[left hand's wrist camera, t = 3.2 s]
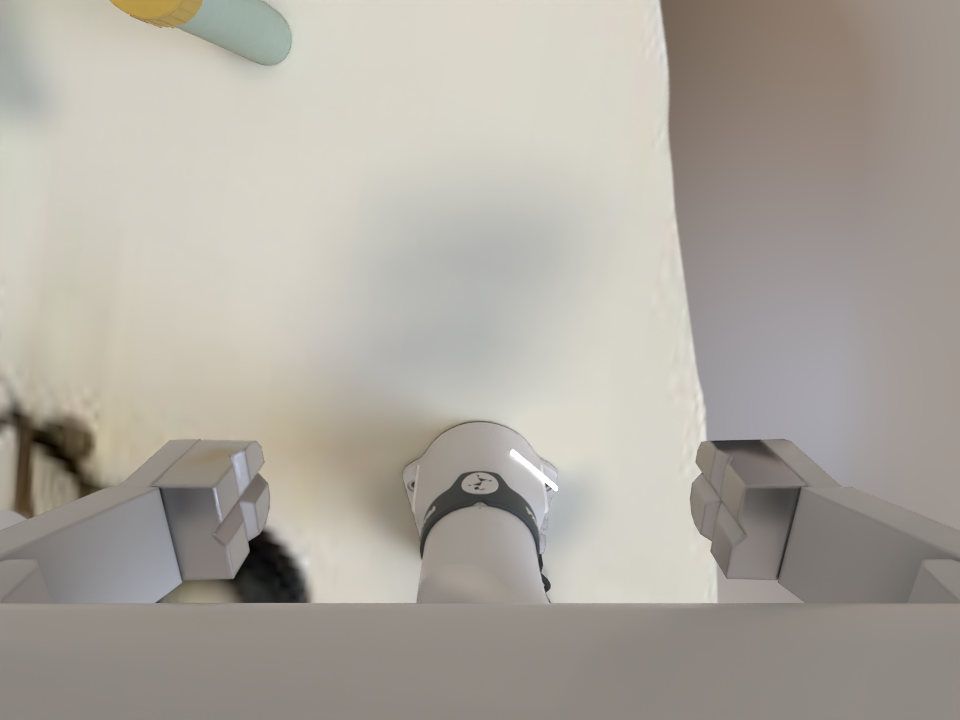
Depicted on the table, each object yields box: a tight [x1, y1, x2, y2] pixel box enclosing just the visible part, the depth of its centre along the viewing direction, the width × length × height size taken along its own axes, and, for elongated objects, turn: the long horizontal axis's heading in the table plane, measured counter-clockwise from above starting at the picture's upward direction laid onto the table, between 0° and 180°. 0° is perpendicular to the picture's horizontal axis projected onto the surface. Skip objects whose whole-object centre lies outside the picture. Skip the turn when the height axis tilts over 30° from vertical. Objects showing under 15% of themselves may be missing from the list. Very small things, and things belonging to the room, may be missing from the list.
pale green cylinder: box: [176, 0, 291, 65], centre depth 40 cm, size 5×5×19 cm
